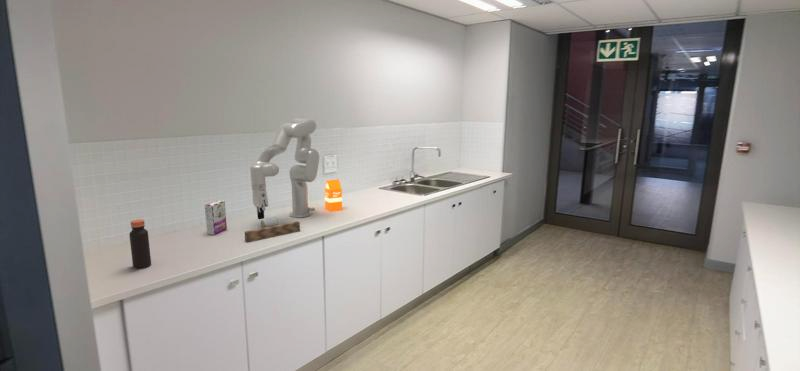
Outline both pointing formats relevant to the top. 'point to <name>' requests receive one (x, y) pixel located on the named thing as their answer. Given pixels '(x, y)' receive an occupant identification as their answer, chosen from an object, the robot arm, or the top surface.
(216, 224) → the candy bar box
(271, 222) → the ceramic mug
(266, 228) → the walnut board
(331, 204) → the orange juice
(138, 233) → the bottle
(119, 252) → the top surface
